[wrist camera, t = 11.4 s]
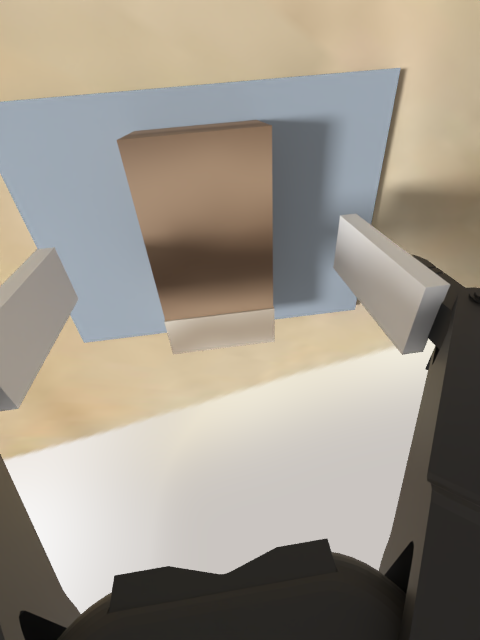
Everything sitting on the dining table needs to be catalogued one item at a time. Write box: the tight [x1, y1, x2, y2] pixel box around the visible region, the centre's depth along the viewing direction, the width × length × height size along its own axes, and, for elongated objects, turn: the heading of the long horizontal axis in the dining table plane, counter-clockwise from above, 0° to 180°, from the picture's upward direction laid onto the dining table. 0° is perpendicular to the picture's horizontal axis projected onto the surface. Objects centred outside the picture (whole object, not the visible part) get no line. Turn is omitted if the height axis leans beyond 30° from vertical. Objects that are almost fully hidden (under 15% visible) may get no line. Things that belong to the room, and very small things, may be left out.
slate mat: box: [0, 68, 400, 343], centre depth 18 cm, size 20×14×1 cm
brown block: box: [117, 120, 275, 354], centre depth 17 cm, size 11×6×4 cm, turn 4°
